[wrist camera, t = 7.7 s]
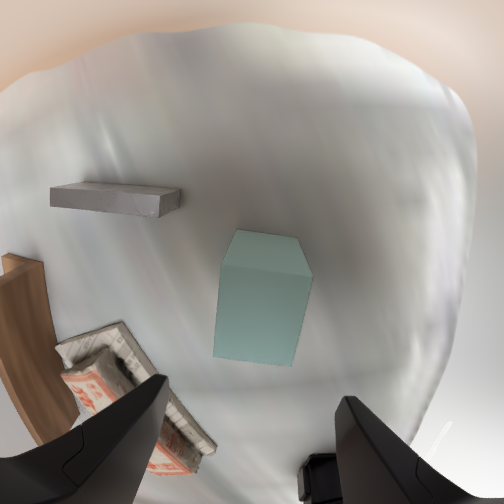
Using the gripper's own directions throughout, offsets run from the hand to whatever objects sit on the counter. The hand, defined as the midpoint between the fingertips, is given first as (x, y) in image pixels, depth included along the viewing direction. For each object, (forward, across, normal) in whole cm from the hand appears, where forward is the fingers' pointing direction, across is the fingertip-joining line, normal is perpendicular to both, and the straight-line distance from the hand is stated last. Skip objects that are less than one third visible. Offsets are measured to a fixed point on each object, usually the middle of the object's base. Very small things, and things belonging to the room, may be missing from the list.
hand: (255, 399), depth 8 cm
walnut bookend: (+12, +22, +13) cm, 28 cm away
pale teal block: (+12, 0, 0) cm, 12 cm away
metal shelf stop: (+12, +10, -4) cm, 16 cm away
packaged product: (+13, +10, +16) cm, 23 cm away
